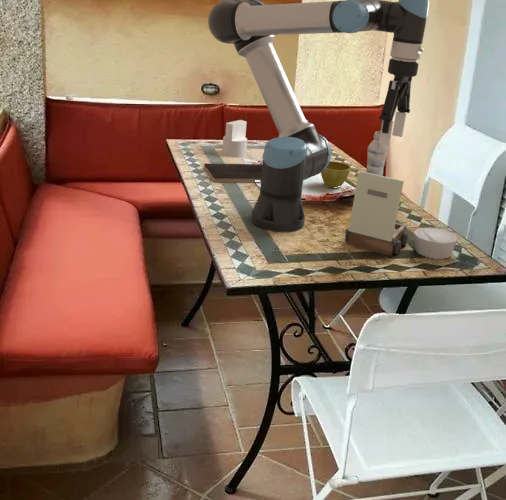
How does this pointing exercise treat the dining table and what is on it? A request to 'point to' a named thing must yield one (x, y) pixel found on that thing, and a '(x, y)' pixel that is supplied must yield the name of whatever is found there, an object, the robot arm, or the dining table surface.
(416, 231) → the ramekin
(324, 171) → the flower pot
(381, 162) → the plastic bottle
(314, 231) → the dining table surface
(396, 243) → the flatbed cart
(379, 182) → the panel
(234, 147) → the cylinder with rectangular tab
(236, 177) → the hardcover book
